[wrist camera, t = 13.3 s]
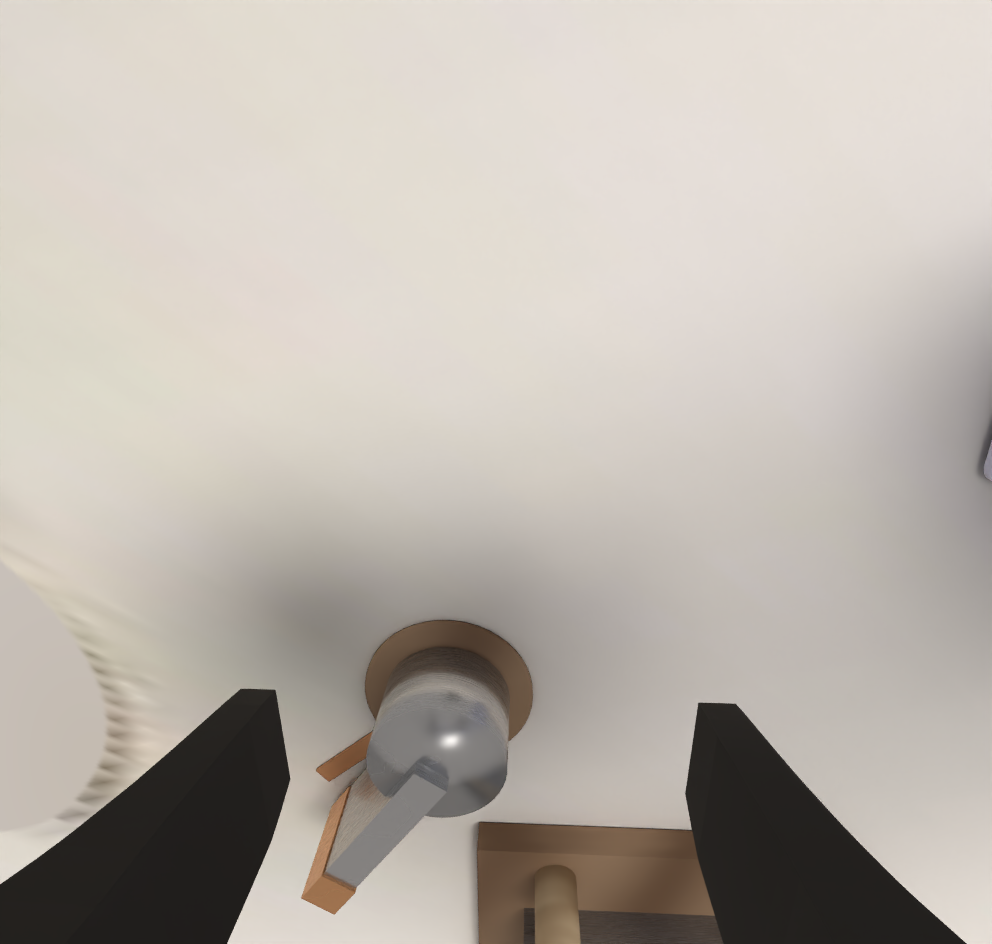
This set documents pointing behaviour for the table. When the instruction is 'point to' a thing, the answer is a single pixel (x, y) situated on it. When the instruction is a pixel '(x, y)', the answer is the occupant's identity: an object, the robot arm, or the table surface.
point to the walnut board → (581, 877)
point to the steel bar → (637, 928)
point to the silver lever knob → (416, 765)
